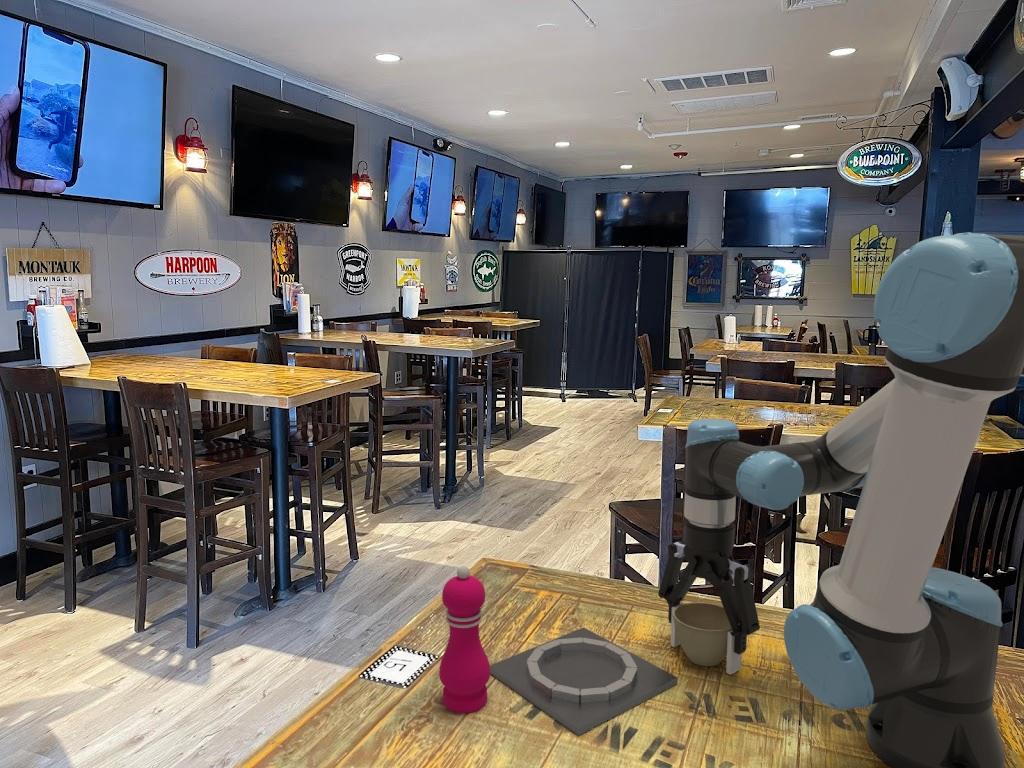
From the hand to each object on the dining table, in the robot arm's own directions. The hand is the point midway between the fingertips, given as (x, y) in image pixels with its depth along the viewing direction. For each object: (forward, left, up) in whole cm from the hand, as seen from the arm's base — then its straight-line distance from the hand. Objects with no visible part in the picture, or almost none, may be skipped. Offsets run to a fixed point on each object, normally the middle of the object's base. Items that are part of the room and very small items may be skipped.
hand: (704, 656), depth 115 cm
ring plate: (+8, +19, 0) cm, 21 cm away
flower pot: (0, 0, -1) cm, 1 cm away
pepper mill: (+14, +36, -1) cm, 39 cm away
